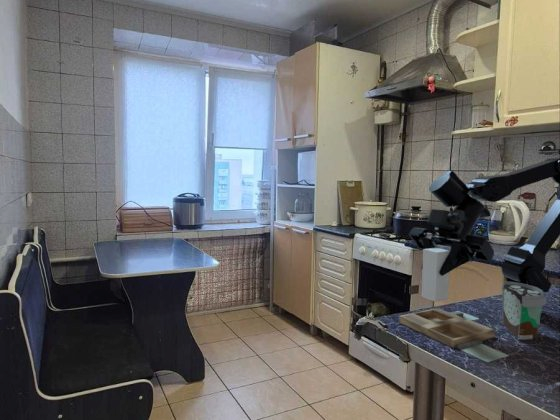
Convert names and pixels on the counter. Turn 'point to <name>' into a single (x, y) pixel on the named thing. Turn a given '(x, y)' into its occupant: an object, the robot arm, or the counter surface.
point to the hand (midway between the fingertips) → (431, 272)
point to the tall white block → (434, 275)
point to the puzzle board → (454, 331)
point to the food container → (522, 309)
